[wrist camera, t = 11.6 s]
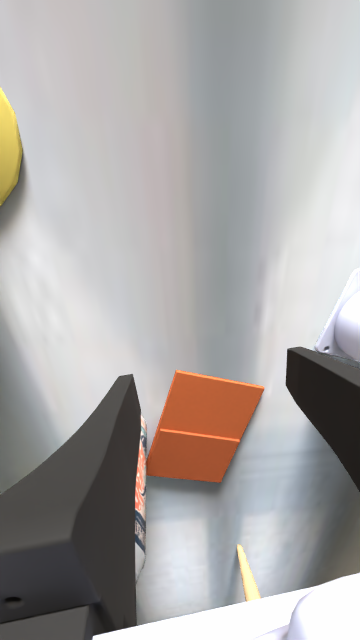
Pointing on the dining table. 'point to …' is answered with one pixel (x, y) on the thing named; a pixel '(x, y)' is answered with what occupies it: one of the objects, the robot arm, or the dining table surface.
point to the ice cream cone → (247, 577)
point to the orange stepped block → (201, 427)
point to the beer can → (140, 503)
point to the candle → (8, 149)
